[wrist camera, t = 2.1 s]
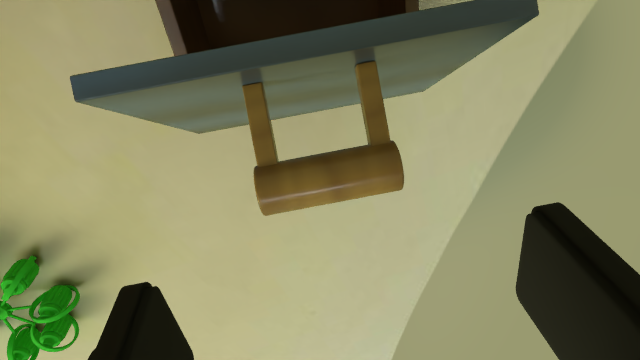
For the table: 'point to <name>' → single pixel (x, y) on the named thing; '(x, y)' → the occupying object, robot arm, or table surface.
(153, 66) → the lid
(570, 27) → the table surface
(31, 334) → the chandelier
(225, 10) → the chest
